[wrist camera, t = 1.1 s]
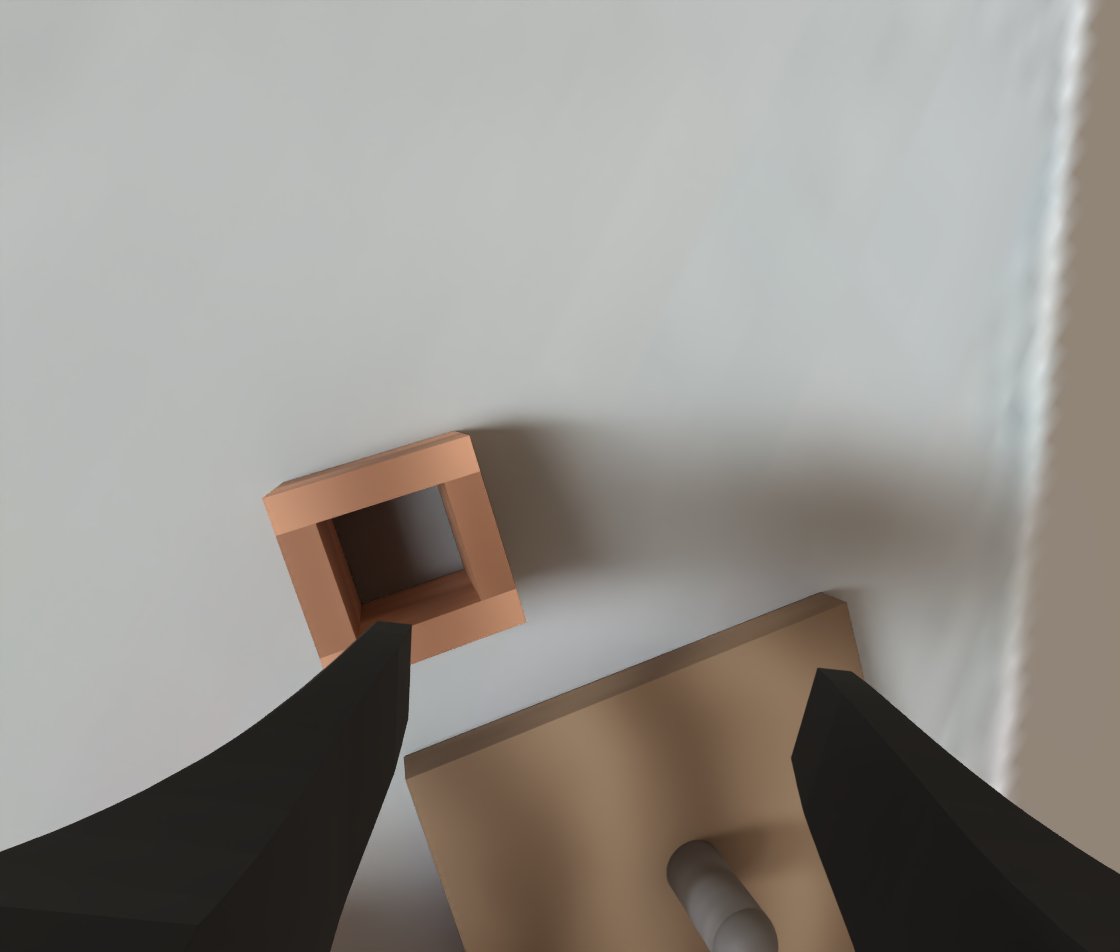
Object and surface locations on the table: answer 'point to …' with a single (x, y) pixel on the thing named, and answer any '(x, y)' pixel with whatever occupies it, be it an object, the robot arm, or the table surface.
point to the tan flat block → (645, 804)
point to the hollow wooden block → (432, 608)
